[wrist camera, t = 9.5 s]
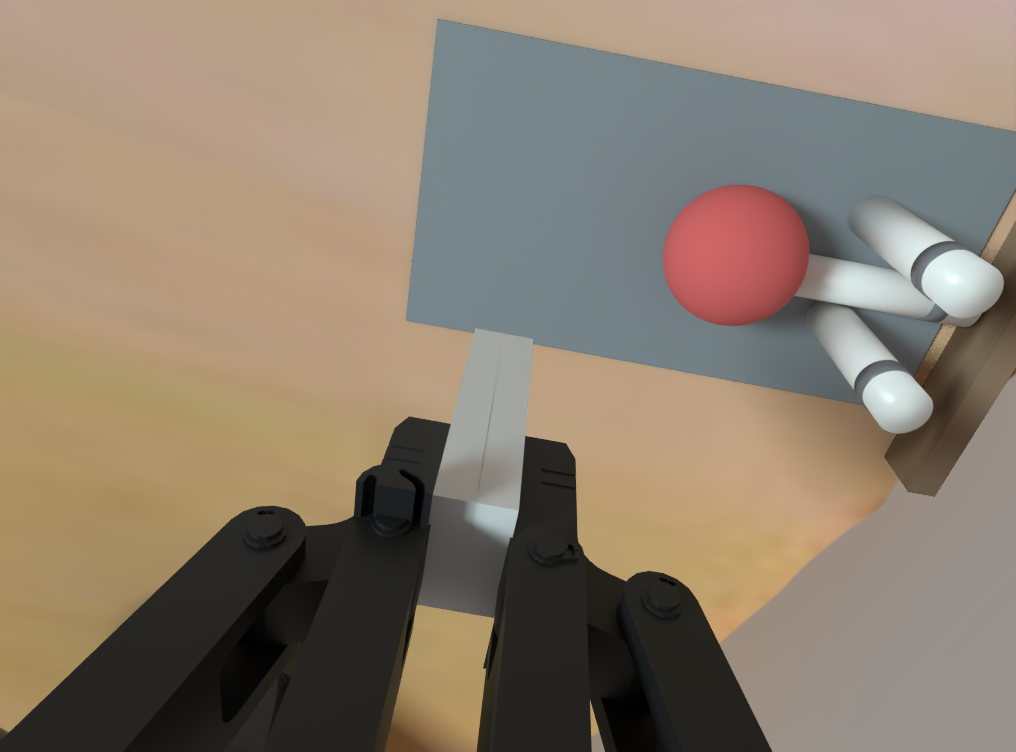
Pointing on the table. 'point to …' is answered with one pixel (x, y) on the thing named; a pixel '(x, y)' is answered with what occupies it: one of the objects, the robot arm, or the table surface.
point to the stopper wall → (961, 388)
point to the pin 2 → (870, 368)
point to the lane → (662, 200)
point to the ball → (736, 255)
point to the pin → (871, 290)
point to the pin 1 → (927, 257)
